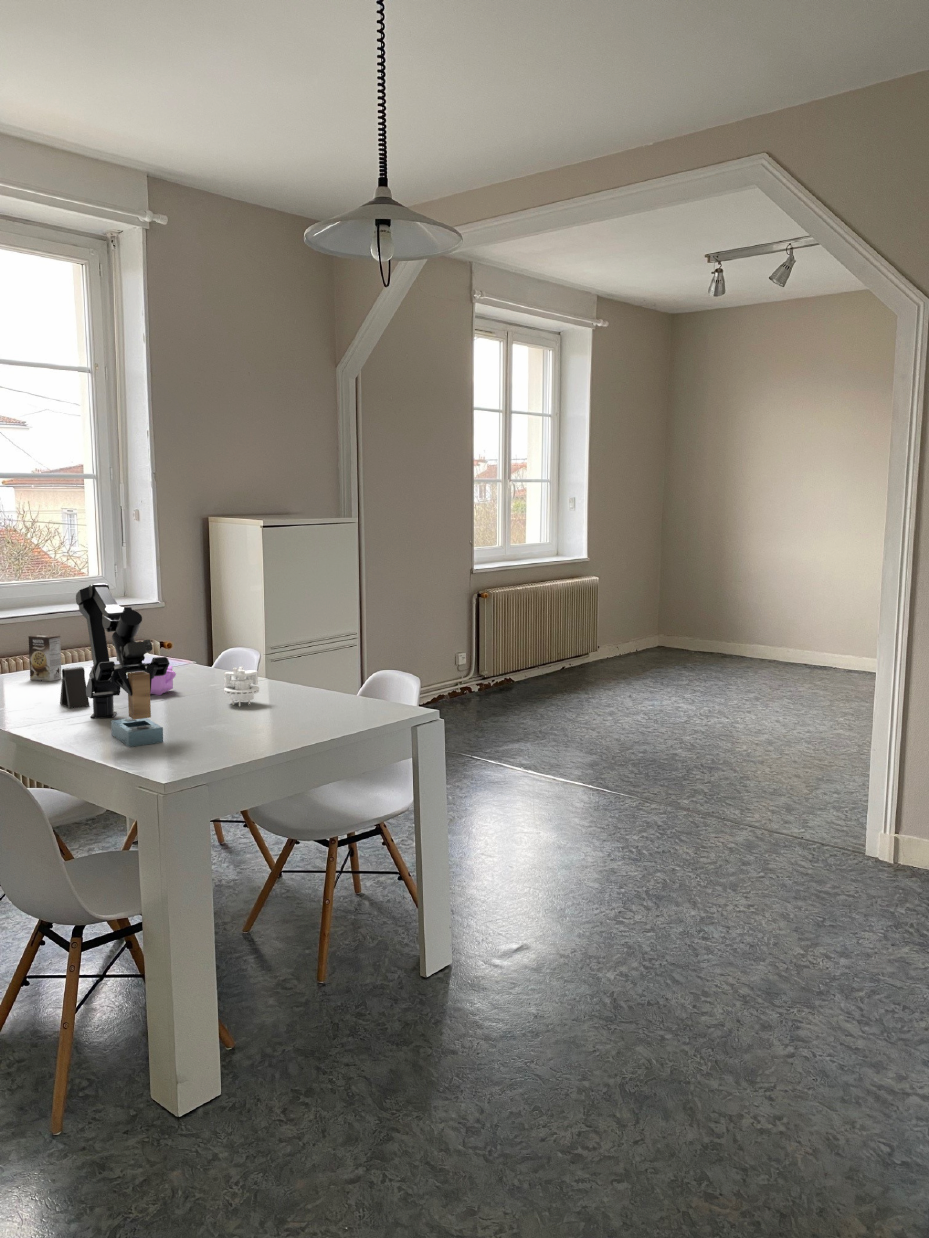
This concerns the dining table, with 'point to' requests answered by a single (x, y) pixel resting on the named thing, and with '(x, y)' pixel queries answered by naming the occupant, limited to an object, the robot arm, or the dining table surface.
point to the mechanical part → (241, 684)
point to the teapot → (163, 682)
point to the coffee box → (45, 657)
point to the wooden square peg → (139, 695)
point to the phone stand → (73, 688)
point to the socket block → (137, 731)
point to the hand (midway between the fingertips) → (140, 693)
